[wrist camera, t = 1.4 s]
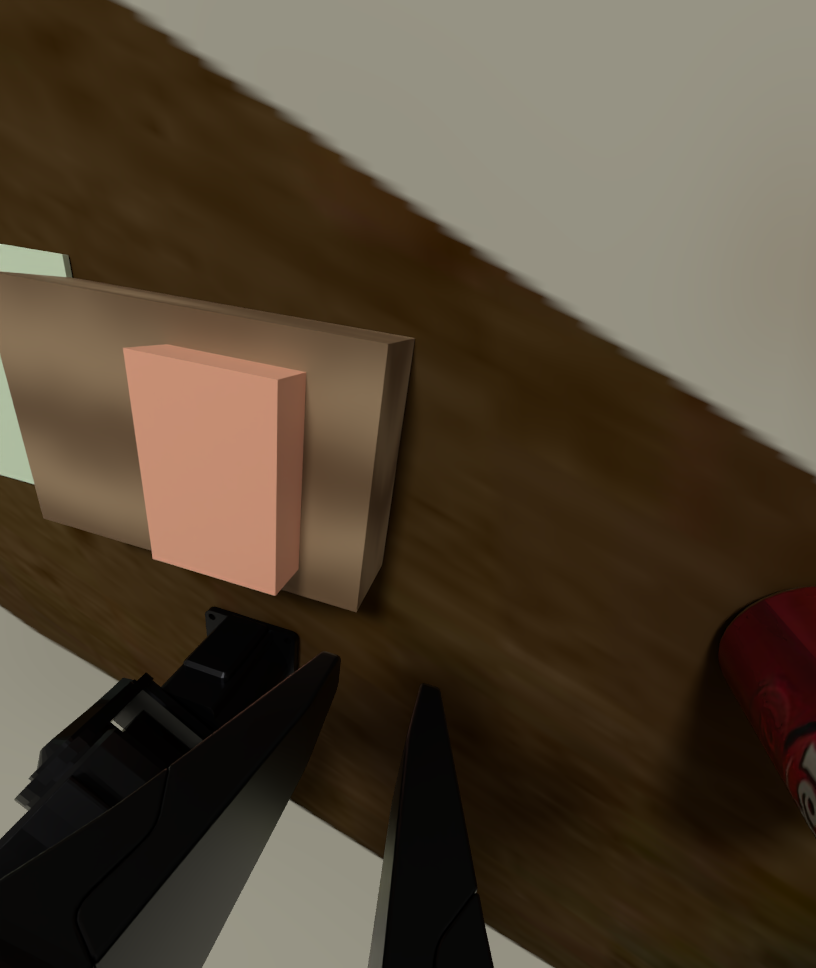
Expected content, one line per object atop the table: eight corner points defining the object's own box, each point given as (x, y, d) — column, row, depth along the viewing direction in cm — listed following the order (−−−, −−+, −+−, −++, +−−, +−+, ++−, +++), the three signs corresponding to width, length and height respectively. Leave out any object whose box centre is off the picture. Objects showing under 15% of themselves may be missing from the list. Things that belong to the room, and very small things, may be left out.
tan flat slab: (382, 564, 22) (356, 612, 19) (110, 489, 25) (43, 518, 22) (414, 338, 17) (388, 344, 14) (72, 277, 20) (-23, 269, 17)
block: (298, 569, 19) (275, 596, 17) (185, 536, 20) (152, 558, 18) (306, 372, 15) (277, 379, 13) (167, 344, 16) (122, 347, 14)
